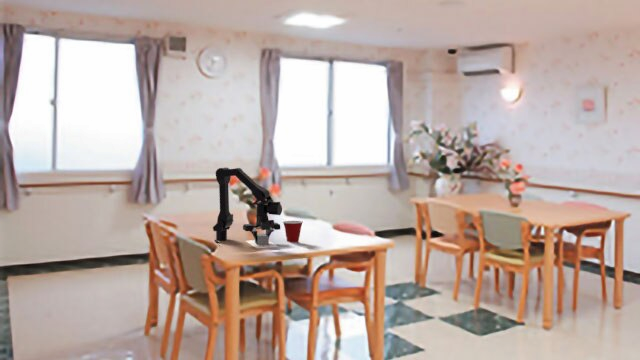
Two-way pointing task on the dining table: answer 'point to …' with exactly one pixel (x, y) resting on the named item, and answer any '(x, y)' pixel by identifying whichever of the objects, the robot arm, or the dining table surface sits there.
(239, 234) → the dining table surface
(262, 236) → the block
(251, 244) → the primed board
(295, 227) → the plastic cup
